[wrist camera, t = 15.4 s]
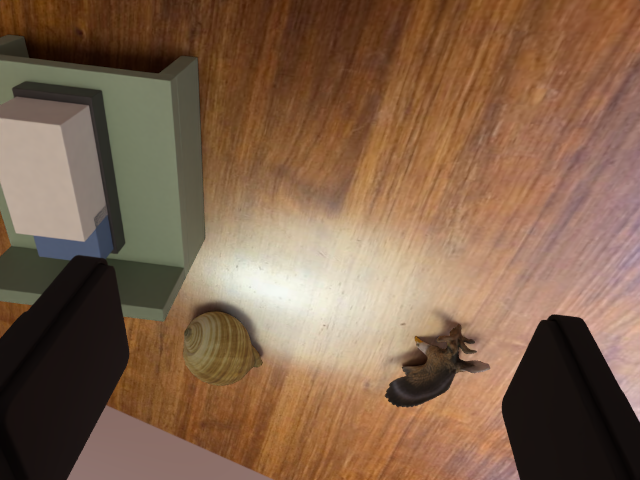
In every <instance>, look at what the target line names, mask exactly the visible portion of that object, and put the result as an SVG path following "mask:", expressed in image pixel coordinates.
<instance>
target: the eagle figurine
mask: <svg viewBox="0 0 640 480" xmlns="http://www.w3.org/2000/svg"><path fill="white" fill-rule="evenodd" d="M415 341H416V345H417V347H418V348H419V349H420V350H421V351H422V352H423V353H424V354H425V355H426V356H427V358H428V359H427V362H426V364H425V365H420V366H405V367H402V369H403V371H404V372H405V374H406V375H407V376H405V377H401V378H398V379H396V380H394V381H393V382H391V383H390V384H389V386H390V387H389V388H388V389H387V391H386V392H387V393H386V394H385V397H386V398H389V399H388V401H389V402H391V403H392V404H393V405H396V406H397V407H400V406H401V407H410V406H411V407H413V406H414V405H415V406H418V405H420V404H423V403H424V402H426V401H429V400H431V399H433V398H435V397H437V396H439V395H441V394H443V393H445V392H446V391H447V390H448V389H449V388H450V385H451V383H452V381H453V378H454V376H455V374H456V373H458V372H463V371H468V372H471V373H477V372H483V371H486V370H489V369H490V366H489V364H486V363H483V362H481V361H475V360H474V361H463V360H461V359H460V358H459V355H458V354H459V352H458V350H459V347H460V348H461V349H462V351H463V352H464V353H466V354H472V353H476V352H477V351H475V350H470V349H469V348H468V347H467V346H466V345H465V344H464V342H466V343H469V344H473V343H475V341H474V340H472V339H467V338H465V337H463V336H462V334H461V325H460V324H458V326H456V327H455V328H453V329H452V330H451V332H450V336H439V338H438V339H437V342H445V341H446V342H447V344H448V346H447V348H445V349H442V348H439V347H437V346H433V345H430V344H427V343H425V342H423V341H421V340H420V339H419V338H418V337H417V336H416V337H415Z"/></svg>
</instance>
